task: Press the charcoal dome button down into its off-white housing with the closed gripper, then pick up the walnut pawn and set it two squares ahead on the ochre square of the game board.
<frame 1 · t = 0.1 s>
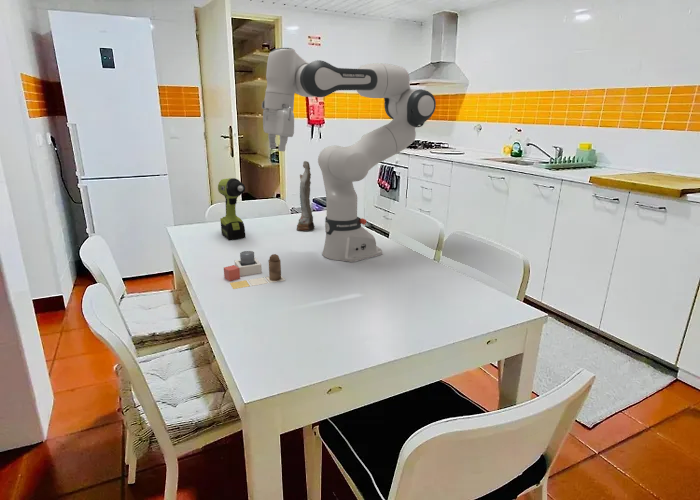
hand: (276, 149, 135), 39 cm above the table, tool pointing down, fingers open, 8 cm apart
board: (253, 279, 134), on the table
pawn: (275, 278, 132), point 1 cm above the table, touching board
cordless drill: (236, 239, 174), on the table
red cube: (232, 278, 132), point 1 cm above the table, touching board
dome: (247, 258, 136), point 5 cm above the table, slide at 0.0 cm
statue: (305, 229, 189), on the table
housing: (248, 271, 138), resting on board
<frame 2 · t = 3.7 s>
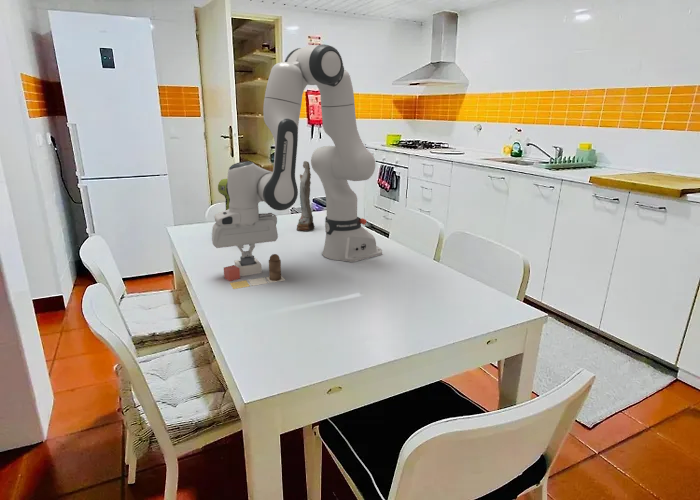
hand: (246, 257, 136), 6 cm above the table, tool pointing down, fingers closed
dome: (247, 262, 137), point 4 cm above the table, slide at 1.4 cm
everything else where it was.
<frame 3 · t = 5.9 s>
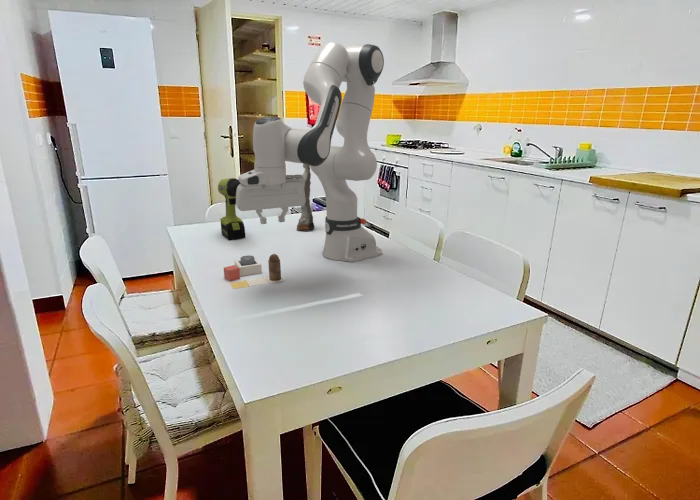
hand: (272, 222, 126), 19 cm above the table, tool pointing down, fingers open, 4 cm apart
nothing on the table moved.
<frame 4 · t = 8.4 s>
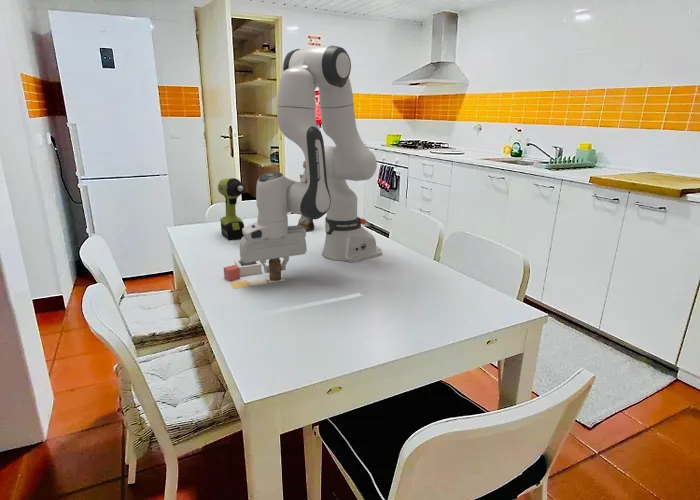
hand: (275, 271, 131), 4 cm above the table, tool pointing down, fingers closed on pawn, 4 cm apart
pawn: (275, 278, 132), point 1 cm above the table, touching board, gripper
everything else where it was.
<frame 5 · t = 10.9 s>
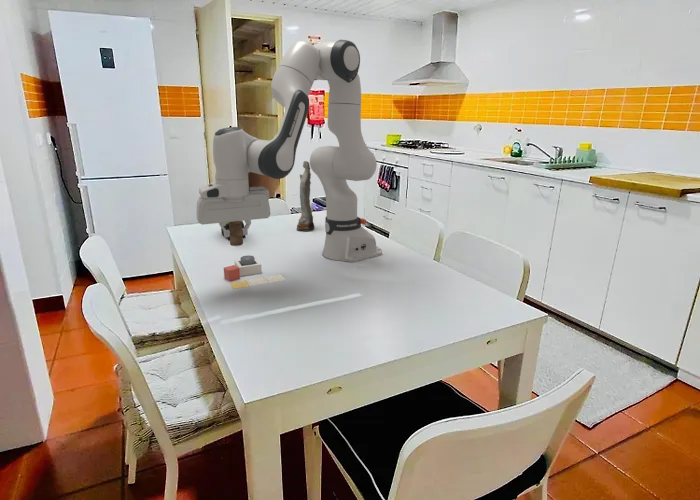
hand: (236, 235, 122), 16 cm above the table, tool pointing down, fingers closed on pawn, 4 cm apart
pawn: (236, 244, 123), point 14 cm above the table, touching gripper
everything else where it was.
when the fingers open (4 cm above the table, at t = 13.2 s): pawn stays where it is, resting on board.
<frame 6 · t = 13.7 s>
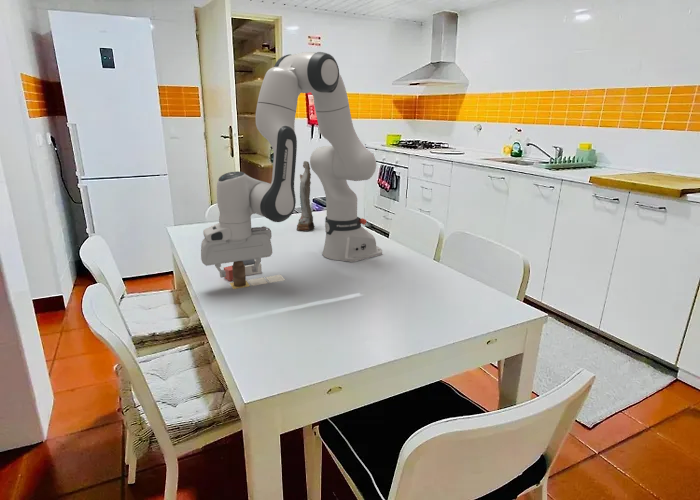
hand: (239, 274, 126), 4 cm above the table, tool pointing down, fingers open, 8 cm apart
pawn: (239, 284, 127), point 1 cm above the table, touching board
everything else where it was.
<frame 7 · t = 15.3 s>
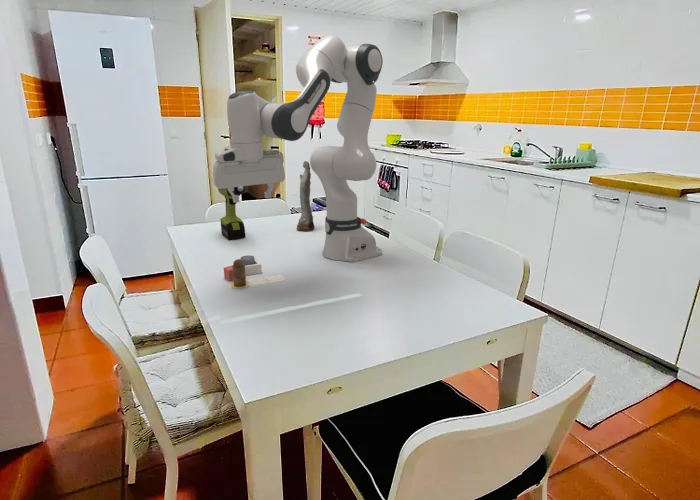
hand: (252, 200, 124), 26 cm above the table, tool pointing down, fingers open, 8 cm apart
nothing on the table moved.
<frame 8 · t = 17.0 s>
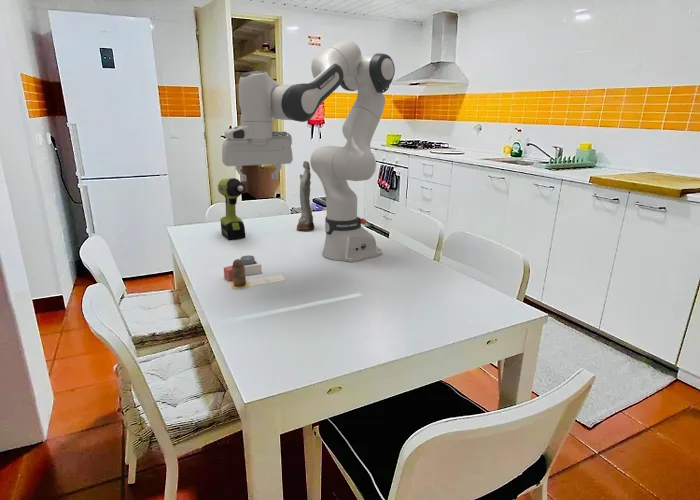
hand: (259, 180, 125), 31 cm above the table, tool pointing down, fingers open, 8 cm apart
nothing on the table moved.
at the end: dome slide at 1.6 cm; pawn 0.0 cm from the target spot, point 1.1 cm above the table; pawn tilted 1° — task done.
